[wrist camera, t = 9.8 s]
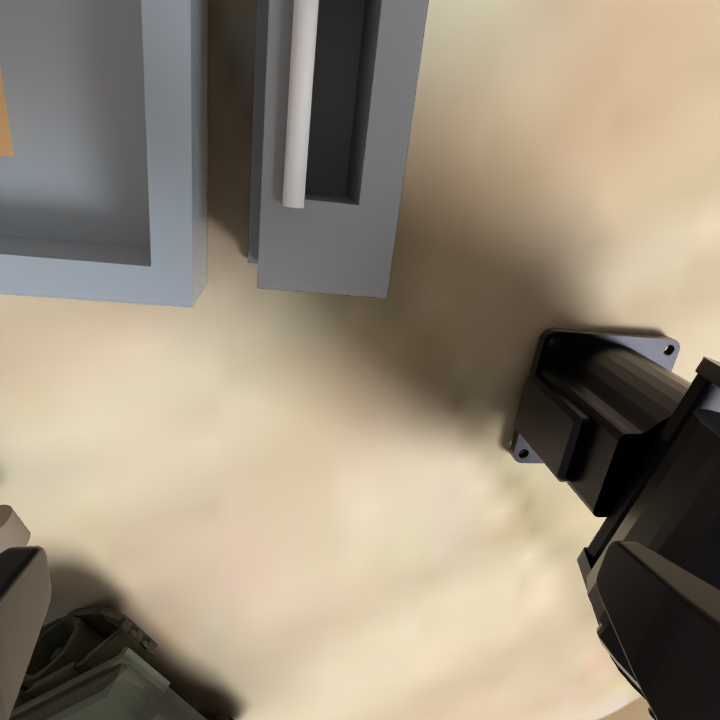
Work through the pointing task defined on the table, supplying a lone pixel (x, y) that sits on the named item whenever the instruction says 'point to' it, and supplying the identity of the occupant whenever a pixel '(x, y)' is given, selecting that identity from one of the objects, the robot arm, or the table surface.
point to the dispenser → (331, 140)
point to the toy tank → (97, 673)
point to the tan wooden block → (4, 126)
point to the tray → (105, 150)
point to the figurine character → (11, 529)
